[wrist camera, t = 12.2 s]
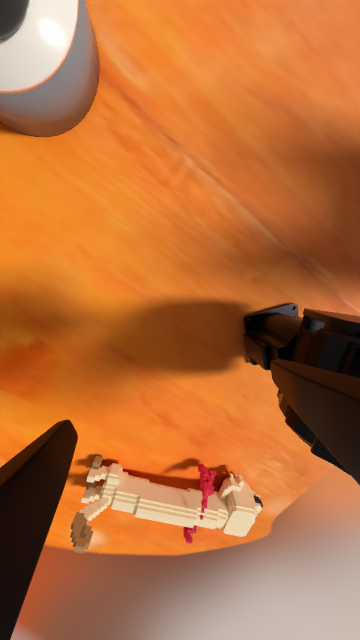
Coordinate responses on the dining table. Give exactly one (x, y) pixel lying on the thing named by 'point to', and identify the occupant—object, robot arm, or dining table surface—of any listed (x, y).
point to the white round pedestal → (49, 69)
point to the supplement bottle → (12, 16)
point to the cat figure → (167, 502)
